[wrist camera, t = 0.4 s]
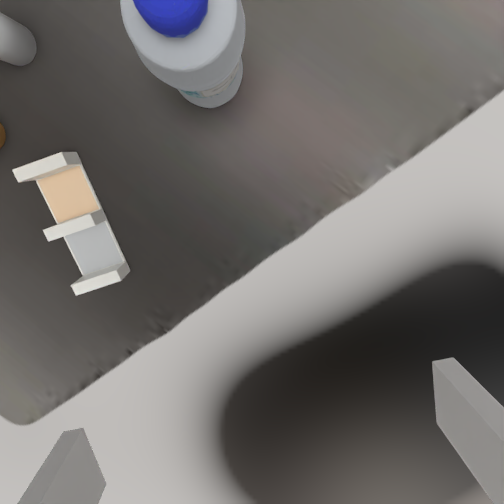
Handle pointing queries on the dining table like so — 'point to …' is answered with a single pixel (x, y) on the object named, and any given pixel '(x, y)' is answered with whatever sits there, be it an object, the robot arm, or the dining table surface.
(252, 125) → the dining table surface
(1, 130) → the orange plug
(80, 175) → the rack
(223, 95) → the bottle
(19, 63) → the grey plug
